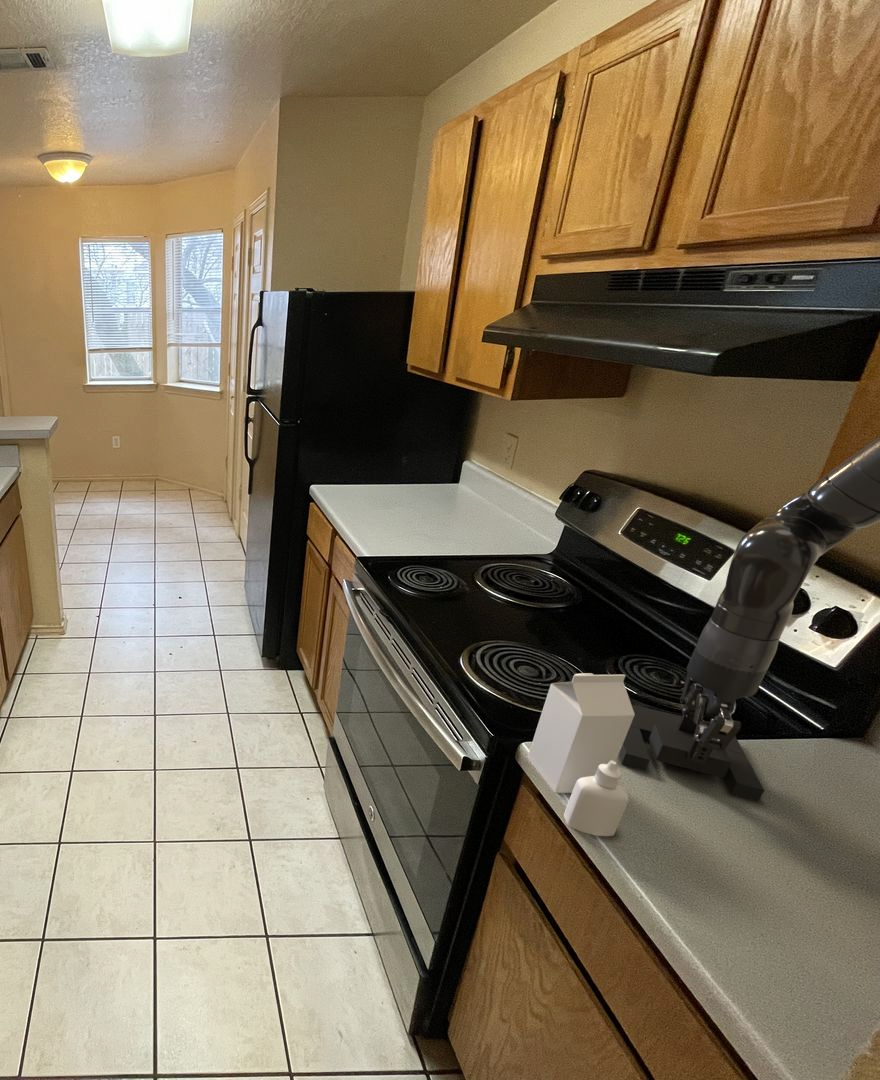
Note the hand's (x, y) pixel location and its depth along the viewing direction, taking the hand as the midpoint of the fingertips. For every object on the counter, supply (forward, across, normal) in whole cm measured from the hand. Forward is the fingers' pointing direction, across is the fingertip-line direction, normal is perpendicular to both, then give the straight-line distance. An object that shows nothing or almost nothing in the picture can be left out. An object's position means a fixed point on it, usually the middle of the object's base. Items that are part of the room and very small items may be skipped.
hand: (689, 747), depth 89 cm
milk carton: (+4, -10, +16) cm, 19 cm away
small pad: (+2, 0, 0) cm, 2 cm away
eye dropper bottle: (+4, -19, +14) cm, 24 cm away
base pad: (+4, +3, 0) cm, 5 cm away
